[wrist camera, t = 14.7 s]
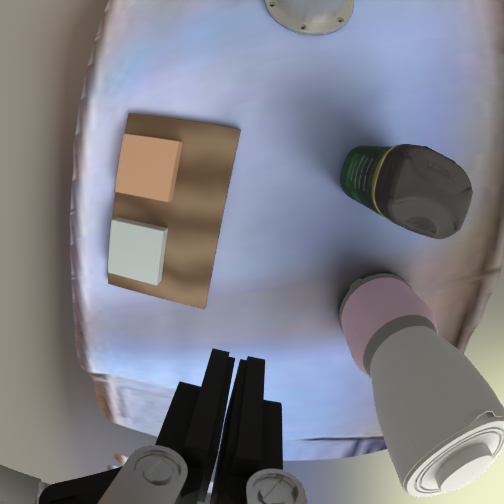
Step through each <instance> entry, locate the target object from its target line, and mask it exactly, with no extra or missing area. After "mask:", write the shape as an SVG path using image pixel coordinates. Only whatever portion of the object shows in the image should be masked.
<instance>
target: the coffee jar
mask: <svg viewBox="0 0 504 504" xmlns="http://www.w3.org/2000/svg"><path fill="white" fill-rule="evenodd" d="M341 186H342V189H343V191H344V192H345V193H346V194H347V195H348V196H349V197H351V198H352V199H354V200H356V201H357V202H359V203H361V204H363V205H365V206H366V207H368V208H369V209H371V210H373V211H374V212H376V213H378V214H379V215H381V216H383V217H385V218H386V219H388V220H390V221H391V222H393V223H395V224H397V225H399V226H401V227H404V228H406V229H408V230H410V231H413V232H416V233H418V234H421V235H425V236H428V237H431V238H435V239H443V238H447V237H449V236H452V235H453V234H455V233H456V232H457V231H458V230H460V229H461V226H462V224H463V222H464V220H465V217H466V215H467V212H468V209H469V206H470V202H471V198H472V193H473V191H472V187H471V183H470V180H469V178H468V176H467V174H466V173H465V171H464V170H463V169H462V168H461V167H460V166H459V165H457V164H456V163H455V161H453V160H451V159H449V158H447V157H445V156H443V155H442V154H440V153H438V152H436V151H434V150H432V149H430V148H428V147H426V146H423V147H422V146H418V145H410V144H401V145H397V146H394V147H378V146H359V147H356V148H354V149H353V150H352V151H351V152H350V153H349V154H348V156H347V158H346V161H345V163H344V166H343V169H342V174H341Z"/></svg>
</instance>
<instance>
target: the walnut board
mask: <svg viewBox="0 0 504 504" xmlns="http://www.w3.org/2000/svg"><path fill="white" fill-rule="evenodd" d="M240 132H241V130H240V129H235V128H230V127H225V126H219V125H213V124H207V123H201V122H195V121H188V120H181V119H174V118H166V117H158V116H149V115H140V114H130V113H129V115H128V120H127V125H126V130H125V134H130V135H138V136H145V137H153V138H160V139H167V140H173V141H180V142H183V145H182V150H181V155H180V161H179V166H178V171H177V177H176V183H175V188H174V194H173V200H172V201H169V202H165V201H160V200H155V199H150V198H145V197H140V196H135V195H129V194H124V193H119V192H116V193H115V201H114V210H113V219H115V218H117V217H120V218H124V219H129V220H133V221H138V222H143V223H147V224H152V225H156V226H161V227H165V228H168V232H167V239H166V247H165V254H164V262H163V270H162V279H161V281H160V283H159V284H158V285H153V284H149V283H145V282H142V281H138V280H134V279H130V278H127V277H123V276H119V275H116V274H112V273H109V277H108V284H111V285H115V286H118V287H122V288H125V289H129V290H133V291H136V292H140V293H143V294H147V295H151V296H155V297H158V298H162V299H166V300H170V301H174V302H178V303H182V304H186V305H190V306H194V307H198V308H202V309H205V307H206V303H207V297H208V292H209V286H210V281H211V275H212V270H213V264H214V259H215V254H216V248H217V243H218V238H219V233H220V228H221V222H222V217H223V212H224V207H225V202H226V197H227V193H228V188H229V183H230V178H231V173H232V169H233V164H234V159H235V155H236V150H237V145H238V141H239V136H240Z"/></svg>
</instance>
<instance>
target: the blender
mask: <svg viewBox="0 0 504 504" xmlns="http://www.w3.org/2000/svg"><path fill="white" fill-rule="evenodd" d="M349 287H350V290H349V291H348V293H347V294H346V296H345V297H344V299H343V301H342V304H341V307H340V312H339V321H340V325H341V328H342V331H343V333H344V335H345V338H346V341H347V344H348V346H349V349H350V352H351V355H352V357H353V359H354V361H355V363H356V365H357V366H358V368H359V369H360V370H361V371H362V372H363V373H364V374H365V375H367V376H368V377H370V378H371V379H372V387H373V393H374V401H375V407H376V412H377V417H378V421H379V424H380V427H381V430H382V433H383V436H384V439H385V443H386V446H387V449H388V452H389V455H390V457H391V459H392V462H393V464H394V467H395V469H396V472H397V474H398V477H399V480H400V483H401V485H402V487H403V489H404V491H405V492H406V493H408V494H410V495H413V496H416V497H429V496H434V495H438V494H441V493H444V492H451V491H455V490H457V489H460V488H462V487H464V486H466V485H468V484H470V483H471V482H473V481H474V480H476V479H477V478H478V477H479V476H481V475H482V474H483V473H484V472H485V471H486V470H487V469H488V468H489V466H490V465H491V463H492V462H493V461H494V460H495V459H496V458H497V457H498V456H499V454H500V453H501V452H502V450H503V449H504V408H503V406H502V404H501V403H500V401H499V400H498V398H497V396H496V395H495V393H494V391H493V390H492V389H491V387H490V386H489V384H488V383H487V382H486V380H485V379H484V378H483V376H482V375H481V374H480V373H479V372H478V370H477V369H476V368H475V367H474V365H473V364H472V363H471V362H470V361H469V360H468V358H467V357H466V356H465V355H464V354H463V353H461V352H460V351H459V350H458V349H457V348H455V347H454V346H453V345H451V344H450V343H449V342H448V341H447V340H446V339H444V338H443V337H441V336H440V335H438V331H437V325H436V321H435V318H434V316H433V314H432V312H431V311H430V309H429V308H428V307H427V305H426V304H425V303H424V302H423V301H422V300H421V299H420V298H419V297H418V296H417V295H416V294H415V293H414V292H413V291H412V289H411V288H410V286H409V285H408V284H407V283H406V282H405V281H404V280H402V279H401V278H400V277H398V276H397V275H395V274H392V273H390V274H375V275H371V276H368V277H366V278H364V279H361V278H358V279H357V280H356V281H354V282H353V283H352V284H351V285H350V286H349Z"/></svg>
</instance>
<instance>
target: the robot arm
mask: <svg viewBox="0 0 504 504" xmlns="http://www.w3.org/2000/svg"><path fill="white" fill-rule="evenodd" d="M265 4H266V7H267V9H268V11H269V13H270V14H271V16H272V17H273V18H274V19H275V20H276V21H277V22H278V23H279V24H281V25H282V26H284V27H286V28H287V29H290V30H292V31H294V32H298V33H301V34H307V35H323V34H329V33H332V32H334V31H337V30H338V29H340V28H342V27H343V26H344V25H345V24H346V23H347V22H348V20H349V19H350V17H351V15H352V13H353V8H354V1H353V0H265ZM271 6H274V7H271ZM338 21H340V22H341V23H340V22H338ZM301 28H304V29H301ZM228 356H229V352H226V351H222V350H217V349H212V352H211V356H210V359H209V362H208V366H207V369H206V372H205V376H204V379H203V383H202V386H201V387H200V386H196V385H192V384H188V383H184V382H179V384H178V386H177V389H176V392H175V394H174V397H173V399H172V402H171V405H170V407H169V410H168V412H167V415H166V418H165V420H164V423H163V425H162V428H161V431H160V433H159V436H158V439H157V441H156V444H155V445H149V446H144V447H141V448H139V449H137V450H135V451H134V452H133V453H132V454H131V455H130V457H129V458H128V460H127V461H126V463H125V464H124V466H122V467H119V468H116V469H112V470H109V471H105V472H101V473H97V474H94V475H90V476H86V477H82V478H77V479H73V480H69V481H64V482H59V483H55V484H52V485H51V484H47V483H44V482H42V481H41V479H38V478H36V477H33V476H30V475H27V474H24V473H21V472H18V471H16V470H13V469H10V468H8V467H5V466H2V465H0V504H197V501H199V502H203V503H204V502H205V498H206V494H207V491H208V487H209V484H210V480H211V476H212V473H213V469H214V465H215V462H216V458H217V454H218V449H219V445H220V450H219V456H218V461H217V467H216V472H215V478H214V483H213V489H212V494H211V500H210V504H308V503H307V499H306V495H305V491H304V488H303V486H302V483H301V482H300V481H299V480H298V479H297V478H296V477H295V476H294V475H292V474H291V473H289V472H286V471H283V450H282V405H281V403H279V402H273V401H267V400H263V397H264V374H265V360H264V359H259V358H254V357H249V356H248V357H247V360H242V359H240V362H239V366H238V370H237V374H236V378H235V382H234V386H233V390H232V394H231V398H230V402H229V405H228V409H227V413H226V417H225V412H226V406H227V401H228V395H229V389H230V384H231V378H232V373H233V367H234V362H235V358H233V357H228ZM224 417H225V422H224ZM223 423H224V427H223ZM222 428H223V433H222ZM221 434H222V439H221ZM220 439H221V444H220Z"/></svg>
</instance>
